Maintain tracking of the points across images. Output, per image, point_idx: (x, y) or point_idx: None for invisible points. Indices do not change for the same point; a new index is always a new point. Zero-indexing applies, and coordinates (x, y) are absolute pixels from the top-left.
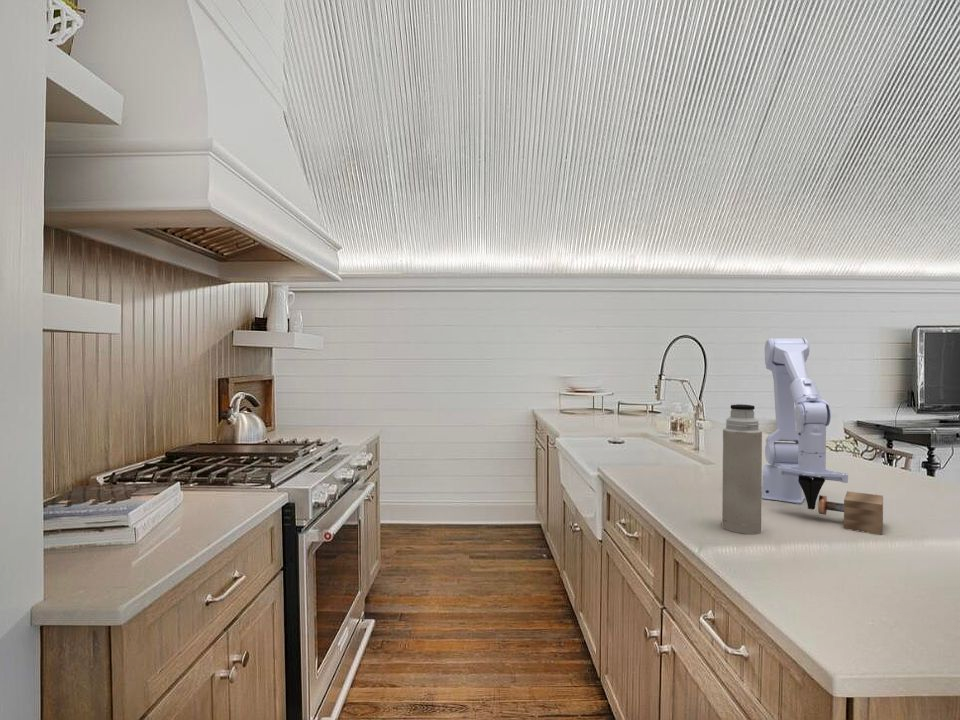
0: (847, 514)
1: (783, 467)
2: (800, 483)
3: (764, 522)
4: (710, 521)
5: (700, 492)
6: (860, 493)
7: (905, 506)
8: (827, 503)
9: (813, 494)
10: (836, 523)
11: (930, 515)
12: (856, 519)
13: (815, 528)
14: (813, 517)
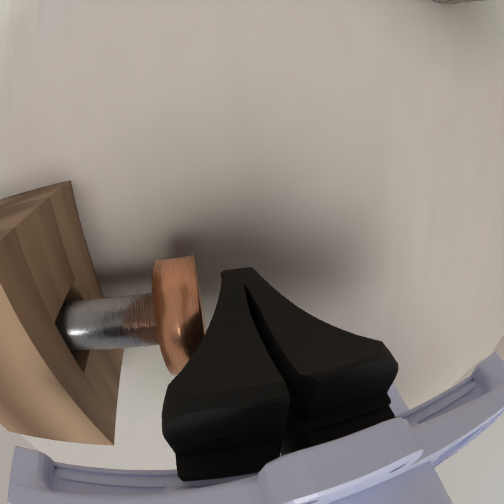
0: (22, 209)
1: (492, 419)
2: (371, 342)
3: (392, 51)
4: (487, 10)
5: (491, 304)
6: (60, 435)
7: (107, 467)
8: (152, 316)
9: (237, 321)
10: (121, 254)
11: (49, 443)
12: (2, 210)
13: (177, 79)
14: None
